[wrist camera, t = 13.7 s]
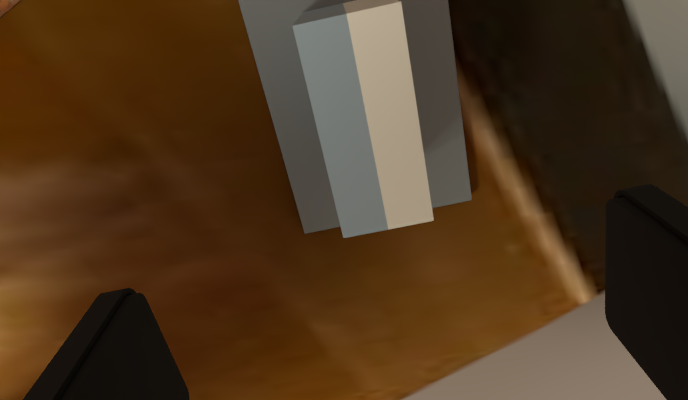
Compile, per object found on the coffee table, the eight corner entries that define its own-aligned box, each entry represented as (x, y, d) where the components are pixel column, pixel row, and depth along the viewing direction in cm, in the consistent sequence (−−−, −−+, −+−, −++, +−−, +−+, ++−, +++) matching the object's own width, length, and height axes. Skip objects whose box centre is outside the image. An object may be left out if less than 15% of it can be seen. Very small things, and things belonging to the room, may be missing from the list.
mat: (469, 195, 29) (471, 200, 29) (305, 229, 30) (304, 233, 29) (434, -90, 23) (437, -92, 23) (229, -40, 24) (226, -40, 23)
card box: (382, -6, 24) (401, 1, 18) (410, 164, 28) (434, 220, 21) (302, 12, 24) (292, 25, 18) (340, 178, 28) (343, 238, 22)
